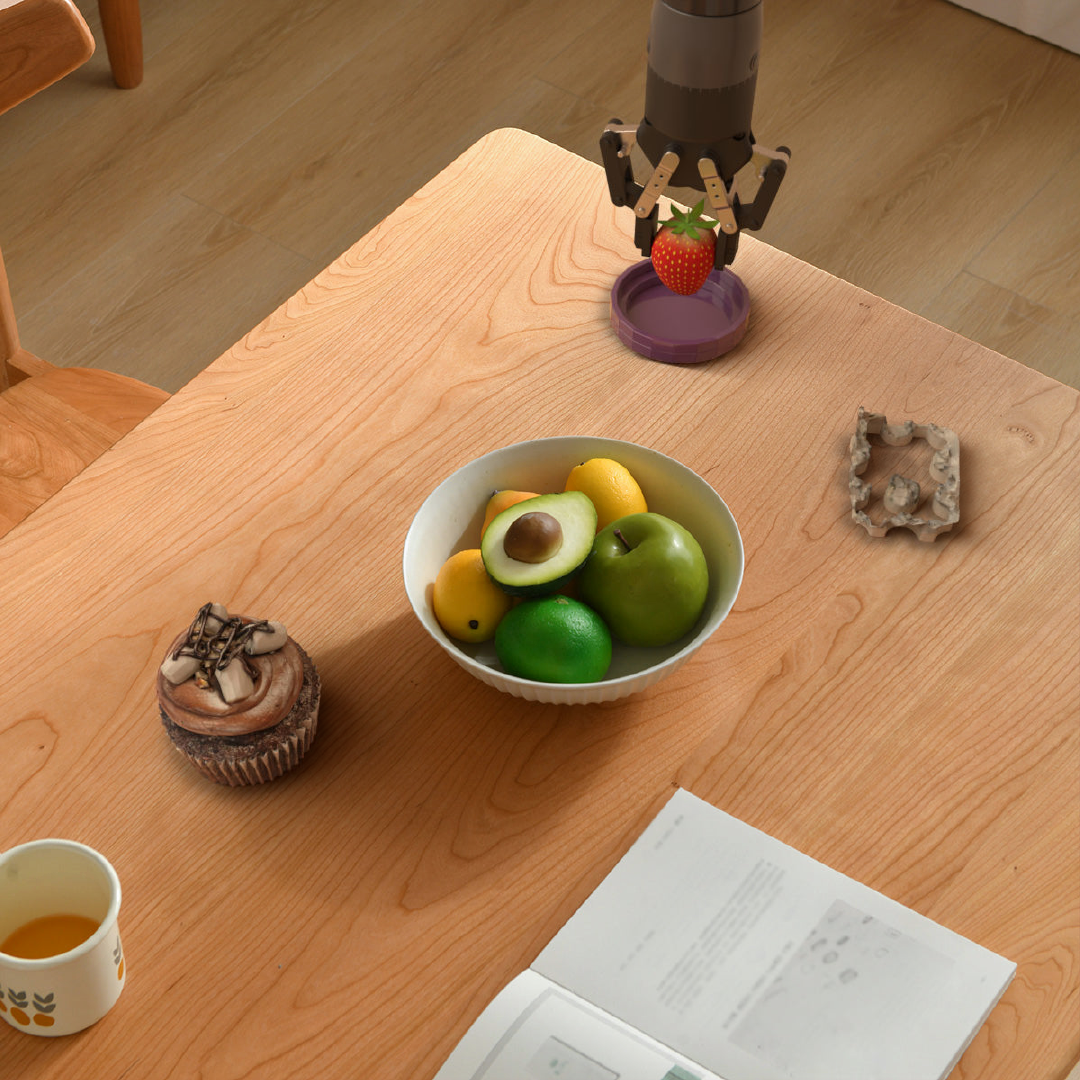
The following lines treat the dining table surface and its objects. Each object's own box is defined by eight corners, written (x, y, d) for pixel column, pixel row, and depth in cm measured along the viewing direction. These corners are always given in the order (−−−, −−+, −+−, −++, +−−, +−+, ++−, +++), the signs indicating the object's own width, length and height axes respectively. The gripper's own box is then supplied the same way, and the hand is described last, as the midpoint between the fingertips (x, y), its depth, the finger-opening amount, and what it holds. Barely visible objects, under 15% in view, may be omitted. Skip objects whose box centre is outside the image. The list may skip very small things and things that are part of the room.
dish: (758, 293, 112) (762, 268, 110) (730, 381, 105) (734, 355, 103) (629, 269, 114) (630, 244, 112) (593, 353, 107) (594, 328, 105)
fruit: (714, 315, 105) (725, 230, 99) (647, 313, 105) (654, 228, 99) (713, 272, 108) (722, 187, 102) (648, 269, 109) (654, 185, 103)
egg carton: (846, 439, 101) (856, 399, 98) (949, 453, 100) (962, 412, 97) (839, 546, 94) (849, 506, 91) (950, 561, 93) (964, 522, 90)
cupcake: (152, 795, 82) (111, 702, 74) (205, 665, 88) (172, 567, 80) (306, 819, 80) (280, 727, 73) (348, 685, 87) (329, 587, 79)
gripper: (818, 42, 92) (785, 245, 105) (615, 11, 95) (607, 213, 108) (799, 100, 88) (766, 305, 101) (586, 66, 90) (581, 270, 103)
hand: (684, 256), depth 104 cm, fingers closed on fruit, 5 cm apart
